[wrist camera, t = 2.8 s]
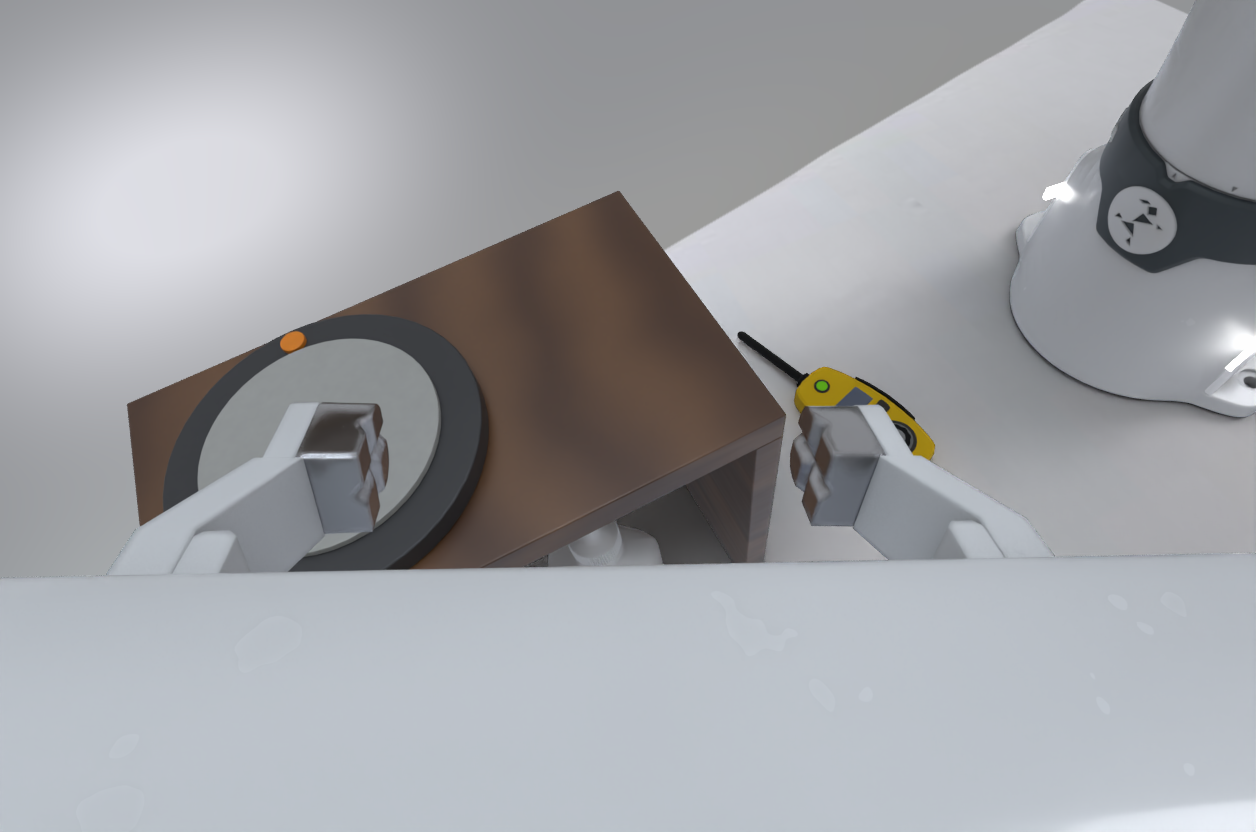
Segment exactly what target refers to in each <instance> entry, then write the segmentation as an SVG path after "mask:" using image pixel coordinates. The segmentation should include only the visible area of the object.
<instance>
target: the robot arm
mask: <svg viewBox="0 0 1256 832" xmlns="http://www.w3.org/2000/svg"><path fill="white" fill-rule="evenodd" d="M1053 197H1054V198H1053ZM1043 198H1044V199H1045V200H1047V199H1050V198H1053V200H1052V202H1051V203H1050V205H1049V206H1048V208H1047V210H1045V211H1042V212H1038V213H1035V214H1031V215H1029V216H1027V217H1026V218H1024V219H1023V221H1022V222H1021V224H1020V225H1019V227H1018V228H1017V231H1016V241H1017V246H1018V251H1019V255H1020V257H1019V262H1018V265H1017V267H1016V270H1015V272H1014V274H1013V277H1012V280H1011V285H1010V304H1011V309H1012V313H1013V316H1014V318H1015V321H1016V323H1017V325H1018V327H1019V328H1020V330H1021V332H1022V333H1023V335H1024V336H1025V338H1026V339H1027V340H1028V342H1029V343H1030V344H1031V345H1032V346H1033V347H1034V348H1035V349H1036V350H1037V351H1038V352H1039V353H1040V354H1041V355H1042V356H1043V357H1044V358H1045V359H1046V360H1048V361H1049V362H1050V363H1051V364H1053V365H1054V366H1056V367H1057V368H1058V369H1060V370H1061V371H1063V372H1065V373H1066V374H1068V375H1070V376H1072V377H1073V378H1075V379H1077V380H1079V381H1081V382H1083V383H1086V384H1088V385H1090V386H1093V387H1095V388H1098V389H1101V390H1104V391H1107V392H1110V393H1113V394H1117V395H1121V396H1126V397H1131V398H1138V399H1146V400H1163V401H1179V402H1186V403H1191V404H1194V405H1197V406H1199V407H1202V408H1205V409H1208V410H1211V411H1214V412H1218V413H1221V414H1224V415H1229V416H1234V417H1246V416H1250V415H1252V414H1253V413H1255V412H1256V0H1195V2H1194V4H1193V6H1192V8H1191V10H1190V12H1189V14H1188V16H1187V18H1186V21H1185V23H1184V25H1183V27H1182V29H1181V31H1180V33H1179V35H1178V36H1177V38H1176V40H1175V42H1174V44H1173V46H1172V48H1171V50H1170V52H1169V54H1168V56H1167V57H1166V59H1165V61H1164V63H1163V65H1162V67H1161V68H1160V70H1159V72H1158V74H1157V75H1156V77H1155V79H1153V80H1152V81H1150V82H1149V83H1148V84H1146V85H1145V86H1144V87H1143V88H1142V89H1141V90H1140V91H1139V92H1138V94H1137V95H1136V96H1135V98H1134V99H1133V101H1132V102H1131V104H1130V106H1129V107H1128V108H1126V109H1125V111H1124V112H1123V114H1122V115H1121V116H1120V118H1119V120H1118V122H1117V123H1116V125H1115V127H1114V128H1113V131H1112V133H1111V137H1110V140H1109V141H1108V143H1107V144H1105V145H1102V146H1100V147H1098V148H1096V149H1089V150H1088V151H1086V152H1085V153H1084V154H1083V155H1082V156H1081V157H1080V159H1079V160H1078V161H1077V163H1076V164H1075V166H1074V168H1073V169H1072V171H1071V172H1070V174H1069V175H1068V177H1067V178H1066V180H1065V181H1064V183H1061V184H1058V185H1055V186H1051V187H1048V188H1047V189H1046V191H1045V193H1044V195H1043ZM1246 384H1247V385H1249V386H1250V387H1251V388H1250V387H1248V386H1247V385H1246ZM798 423H799V426H800V428H801V430H802V433H801V434H800V435H799V436H798V437H797V438H795V439H794V440H793V444H792V449H791V453H790V469H791V474H792V478H793V481H794V483H795V486H796V487H798V488H799V489H801V490H802V491H803V492H804V495H803V499H802V504H803V506H804V509H805V511H806V513H807V516H808V518H809V521H810V523H811V526H854V527H853V529H854V530H856V531H857V532H858V533H859V534H860V535H861V536H862V537H863V538H864V539H866V540H867V541H868V542H869V543H870V544H871V545H872V546H873V547H874V548H876V549H877V550H878V551H879V552H880V553H881V554H882V555H883V556H884V557H886V558H887V559H888V560H868V561H818V562H768V563H717V564H668V565H617V566H565V567H514V568H463V569H412V570H360V571H309V572H288V571H289V570H290V569H291V568H292V567H293V566H294V565H295V564H296V563H297V562H298V561H300V560H301V559H302V558H303V557H304V556H305V555H306V554H307V553H308V552H309V551H310V550H311V549H312V548H313V547H314V546H315V545H316V544H317V543H318V542H319V541H320V540H322V539H323V538H324V537H325V535H324V534H334V533H359V532H373V530H374V526H375V523H376V519H377V516H378V512H379V509H380V502H379V496H378V494H379V493H380V492H382V491H383V490H384V489H385V487H386V483H387V479H388V471H389V451H388V445H387V440H386V439H385V438H384V437H382V436H381V435H380V431H381V428H382V425H383V418H382V413H381V409H380V407H379V405H378V404H374V403H335V402H322V403H320V402H294V403H292V404H290V405H289V406H288V408H287V410H286V412H285V414H284V416H283V418H282V420H281V421H280V423H279V425H278V427H277V429H276V431H275V433H274V435H273V437H272V439H271V441H270V443H269V445H268V447H267V449H266V451H265V453H264V455H263V457H262V458H252V459H251V460H249V461H247V462H246V463H244V464H243V465H241V466H239V467H238V468H236V469H234V470H233V471H231V472H229V473H228V474H226V475H224V476H223V477H221V478H219V479H218V480H216V481H215V482H213V483H211V484H210V485H208V486H206V487H205V488H203V489H201V490H200V491H198V492H196V493H195V494H193V495H191V496H190V497H188V498H187V499H185V500H183V501H182V502H180V503H178V504H177V505H175V506H173V507H172V508H170V509H168V510H167V511H165V512H163V513H162V514H160V515H158V516H157V517H155V518H154V519H152V520H150V521H149V522H147V523H145V524H144V525H142V526H140V527H139V528H137V529H135V531H134V532H133V534H132V535H131V537H130V538H129V540H128V542H127V543H126V544H125V546H124V547H123V549H122V551H121V552H120V554H119V555H118V557H117V558H116V560H115V561H114V563H113V564H112V566H111V568H110V569H109V570H108V572H107V574H106V575H105V576H59V577H58V576H56V577H6V578H5V577H4V578H0V832H1256V553H1210V554H1165V555H1120V556H1070V557H1055V556H1054V554H1053V553H1052V552H1051V550H1050V549H1049V548H1048V546H1047V545H1046V543H1045V542H1044V541H1043V539H1042V538H1041V537H1040V535H1039V534H1038V533H1037V531H1036V530H1035V529H1034V527H1033V526H1032V524H1031V523H1030V522H1029V520H1028V519H1027V518H1025V517H1024V516H1022V515H1020V514H1019V513H1017V512H1015V511H1014V510H1012V509H1010V508H1008V507H1007V506H1005V505H1003V504H1002V503H1000V502H998V501H997V500H995V499H993V498H992V497H990V496H988V495H986V494H985V493H983V492H981V491H980V490H978V489H976V488H975V487H973V486H971V485H970V484H968V483H966V482H964V481H963V480H961V479H959V478H958V477H956V476H954V475H953V474H951V473H949V472H948V471H946V470H944V469H942V468H941V467H939V466H937V465H936V464H934V463H932V462H931V461H929V460H927V459H926V458H924V457H922V456H914V455H913V454H912V452H911V451H910V449H909V448H908V446H907V444H906V443H905V441H904V440H903V438H902V436H901V435H900V433H899V432H898V430H897V429H896V427H895V425H894V424H893V422H892V421H891V419H890V418H889V416H888V414H887V413H886V411H885V410H884V408H883V407H881V406H880V405H854V406H805V407H804V409H803V410H802V412H801V415H800V418H799V422H798Z"/></svg>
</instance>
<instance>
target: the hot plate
mask: <svg viewBox="0 0 1256 832" xmlns="http://www.w3.org/2000/svg"><path fill="white" fill-rule="evenodd" d="M294 402H320V403H322V402H335V403H374V404H378V405H379V407H380V409H381V413H382V418H383V425H382V428H381V431H380V435H381V436H382V437H384V438H385V439H386V440H387V445H388V451H389V471H388V479H387V483H386V487H385V489H384V490H383V491H382V492H380V493H379V494H378V496H379V502H380V509H379V512H378V516H377V519H376V523H375V526H374V530H373V532H359V533H334V534H324V535H325V537H324V538H323V539H322V540H320V541H319V542H318V543H317V544H316V545H315V546H314V547H313V548H312V549H311V550H310V551H309V552H308V553H307V554H306V555H305V556H304V557H303V558H302V559H301V560H300V561H298V562H297V563H296V564H295V565H294V566H293V567H292V568H291V569H290V570H289V571H288V572H309V571H360V570H408V569H410V568H411V567H412V566H414V565H415V564H416V563H418V562H419V561H420V560H421V559H422V558H423V557H424V556H425V555H427V554H428V553H429V552H430V551H431V550H432V549H433V548H434V547H435V546H436V545H437V544H438V543H439V542H440V541H441V539H442V538H443V537H444V536H445V535H446V534H447V533H448V532H449V531H450V529H451V528H452V526H453V525H454V524H455V522H456V521H457V519H458V518H459V517H460V515H461V514H462V512H463V511H464V509H465V507H466V506H467V504H468V502H469V500H470V498H471V496H472V495H473V493H474V491H475V488H476V486H477V483H478V481H479V478H480V476H481V473H482V469H483V466H484V462H485V458H486V454H487V446H488V438H489V424H488V413H487V408H486V402H485V399H484V396H483V393H482V391H481V388H480V385H479V383H478V381H477V380H476V378H475V376H474V374H473V372H472V370H471V369H470V367H469V365H468V363H467V362H466V360H465V359H464V357H463V356H462V355H461V354H460V352H459V351H458V350H457V349H456V348H455V347H454V346H453V345H452V344H451V343H450V342H449V341H448V340H446V339H445V338H444V337H443V336H441V335H440V334H438V333H436V332H435V331H433V330H432V329H430V328H428V327H425V326H423V325H421V324H419V323H416V322H414V321H410V320H407V319H403V318H400V317H394V316H387V315H375V314H360V315H347V316H341V317H335V318H330V319H326V320H322V321H318V322H315V323H311V324H308V325H306V326H303V327H300V328H298V329H295V330H293V331H290V332H288V333H286V334H284V335H282V336H280V337H278V338H276V339H274V340H272V341H270V342H269V343H267V344H265V345H264V346H262V347H260V348H259V349H257V350H255V351H254V352H253V353H251V354H250V355H248V356H247V357H246V358H244V359H243V360H241V361H240V362H239V363H238V364H236V365H235V366H234V367H233V368H232V369H231V370H229V371H228V372H227V373H226V374H225V375H224V376H223V377H222V378H221V379H220V380H219V381H218V382H217V383H216V384H215V385H214V386H213V387H212V388H211V389H210V390H209V391H208V392H207V394H206V395H205V396H204V397H203V399H202V400H201V401H200V402H199V404H198V405H197V406H196V408H195V409H194V411H193V412H192V414H191V415H190V417H189V418H188V420H187V421H186V423H185V425H184V427H183V429H182V431H181V432H180V434H179V436H178V438H177V440H176V442H175V445H174V448H173V450H172V453H171V456H170V458H169V462H168V466H167V470H166V474H165V478H164V488H163V512H165V511H167V510H168V509H170V508H172V507H173V506H175V505H177V504H178V503H180V502H182V501H183V500H185V499H187V498H188V497H190V496H191V495H193V494H195V493H196V492H198V491H200V490H201V489H203V488H205V487H206V486H208V485H210V484H211V483H213V482H215V481H216V480H218V479H219V478H221V477H223V476H224V475H226V474H228V473H229V472H231V471H233V470H234V469H236V468H238V467H239V466H241V465H243V464H244V463H246V462H247V461H249V460H251V459H252V458H262V457H263V455H264V453H265V451H266V449H267V447H268V445H269V443H270V441H271V439H272V437H273V435H274V433H275V431H276V429H277V427H278V425H279V423H280V421H281V420H282V418H283V416H284V414H285V412H286V410H287V408H288V406H289V405H290V404H292V403H294Z"/></svg>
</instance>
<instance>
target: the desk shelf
mask: <svg viewBox="0 0 1256 832" xmlns="http://www.w3.org/2000/svg"><path fill="white" fill-rule="evenodd" d="M360 314H375V315H387V316H394V317H400V318H403V319H407V320H410V321H414V322H416V323H419V324H421V325H423V326H425V327H428V328H430V329H432V330H433V331H435V332H436V333H438V334H440V335H441V336H443V337H444V338H445V339H446V340H448V341H449V342H450V343H451V344H452V345H453V346H454V347H455V348H456V349H457V350H458V351H459V352H460V354H461V355H462V356H463V357H464V359H465V360H466V362H467V363H468V365H469V367H470V369H471V370H472V372H473V374H474V376H475V378H476V380H477V381H478V383H479V385H480V388H481V391H482V393H483V396H484V399H485V402H486V408H487V413H488V424H489V438H488V446H487V454H486V458H485V462H484V466H483V469H482V473H481V476H480V478H479V481H478V483H477V486H476V488H475V491H474V493H473V495H472V496H471V498H470V500H469V502H468V504H467V506H466V507H465V509H464V511H463V512H462V514H461V515H460V517H459V518H458V519H457V521H456V522H455V524H454V525H453V526H452V528H451V529H450V531H449V532H448V533H447V534H446V535H445V536H444V537H443V538H442V539H441V541H440V542H439V543H438V544H437V545H436V546H435V547H434V548H433V549H432V550H431V551H430V552H429V553H428V554H427V555H425V556H424V557H423V558H422V559H421V560H420V561H419V562H418V563H416V564H415V565H414V566H412V567H411V568H410V569H408V570H412V569H463V568H514V567H524V566H526V565H528V564H530V563H532V562H534V561H536V560H538V559H540V558H542V557H544V556H546V555H548V554H550V553H552V552H554V551H556V550H558V549H560V548H562V547H564V546H566V545H568V544H570V543H572V542H574V541H576V540H578V539H580V538H582V537H584V536H586V535H588V534H590V533H592V532H593V531H595V530H597V529H599V528H601V527H603V526H605V525H607V524H609V523H611V522H613V521H615V520H617V519H619V518H621V517H623V516H625V515H627V514H629V513H631V512H633V511H635V510H637V509H639V508H641V507H643V506H645V505H647V504H649V503H651V502H653V501H655V500H657V499H659V498H661V497H663V496H665V495H667V494H668V493H670V492H672V491H674V490H676V489H678V488H680V487H682V486H684V485H686V487H687V489H688V490H689V492H690V493H691V495H692V497H693V498H694V500H695V502H696V503H697V505H698V507H699V508H700V510H701V512H702V513H703V515H704V517H705V518H706V520H707V522H708V523H709V525H710V526H711V528H712V530H713V531H714V533H715V535H716V536H717V538H718V540H719V541H720V543H721V545H722V546H723V548H724V550H725V551H726V553H727V555H728V556H729V558H730V559H731V561H732V563H764V558H765V551H766V545H767V538H768V531H769V525H770V518H771V512H772V505H773V498H774V492H775V485H776V479H777V472H778V465H779V459H780V452H781V446H782V439H783V432H784V425H785V418H786V414H785V412H784V411H783V410H782V408H781V407H780V406H779V404H778V403H777V402H776V400H775V399H774V398H773V396H772V395H771V394H770V392H769V391H768V390H767V388H766V387H765V386H764V384H763V383H762V382H761V380H760V379H759V377H758V376H757V375H756V373H755V372H754V371H753V369H752V368H751V367H750V365H749V364H748V363H747V361H746V360H745V359H744V357H743V356H742V355H741V353H740V352H739V351H738V349H737V348H736V347H735V345H734V344H733V343H732V341H731V340H730V339H729V337H728V336H727V335H726V333H725V332H724V331H723V329H722V328H721V327H720V325H719V324H718V323H717V321H716V320H715V318H714V317H713V316H712V314H711V313H710V312H709V310H708V309H707V308H706V306H705V305H704V304H703V302H702V301H701V300H700V298H699V297H698V296H697V294H696V293H695V292H694V290H693V289H692V288H691V286H690V285H689V284H688V282H687V281H686V280H685V278H684V277H683V276H682V274H681V273H680V272H679V270H678V269H677V268H676V266H675V265H674V264H673V262H672V261H671V260H670V258H669V257H668V255H667V254H666V253H665V251H664V250H663V249H662V247H661V246H660V245H659V243H658V242H657V241H656V239H655V238H654V237H653V235H652V234H651V233H650V231H649V230H648V229H647V227H646V226H645V225H644V224H643V222H642V221H641V219H640V218H639V217H638V215H637V214H636V213H635V211H634V210H633V209H632V207H631V206H630V205H629V203H628V202H627V201H626V199H625V198H624V196H623V195H622V194H621V193H620V191H617V192H615V193H612V194H610V195H608V196H605V197H603V198H601V199H598V200H596V201H594V202H591V203H589V204H587V205H585V206H582V207H580V208H578V209H575V210H573V211H571V212H568V213H566V214H564V215H561V216H559V217H557V218H554V219H552V220H550V221H548V222H545V223H543V224H541V225H538V226H536V227H534V228H531V229H529V230H527V231H525V232H522V233H520V234H518V235H515V236H513V237H511V238H509V239H506V240H504V241H501V242H499V243H497V244H495V245H492V246H490V247H488V248H485V249H483V250H481V251H478V252H476V253H474V254H471V255H469V256H467V257H465V258H462V259H460V260H458V261H455V262H453V263H451V264H448V265H446V266H444V267H442V268H439V269H437V270H435V271H432V272H430V273H428V274H426V275H423V276H421V277H418V278H416V279H414V280H412V281H409V282H407V283H405V284H402V285H400V286H398V287H395V288H393V289H391V290H389V291H386V292H384V293H382V294H379V295H377V296H375V297H372V298H370V299H368V300H365V301H363V302H361V303H359V304H356V305H354V306H352V307H350V308H347V309H345V310H342V311H340V312H338V313H336V314H333V315H331V316H329V317H326V318H324V319H322V320H326V319H330V318H335V317H341V316H347V315H360ZM322 320H319V321H322ZM317 322H318V321H317ZM266 344H267V343H266ZM264 345H265V344H264ZM264 345H262V346H264ZM262 346H260V347H262ZM260 347H257V348H255V349H252V350H250V351H248V352H246V353H243V354H241V355H239V356H236V357H234V358H232V359H230V360H227V361H225V362H222V363H220V364H218V365H216V366H213V367H211V368H209V369H207V370H204V371H202V372H200V373H197V374H195V375H193V376H190V377H188V378H186V379H183V380H181V381H179V382H176V383H174V384H172V385H169V386H167V387H165V388H163V389H160V390H158V391H156V392H153V393H151V394H149V395H146V396H144V397H142V398H140V399H137V400H135V401H133V402H131V403H128V404H127V407H128V418H129V427H130V437H131V447H132V456H133V464H134V465H133V466H134V475H135V485H136V495H137V504H138V513H139V523H140V526H142V525H144V524H145V523H147V522H149V521H150V520H152V519H154V518H155V517H157V516H158V515H160V514H162V513H163V488H164V478H165V474H166V470H167V466H168V462H169V458H170V456H171V453H172V450H173V448H174V445H175V442H176V440H177V438H178V436H179V434H180V432H181V431H182V429H183V427H184V425H185V423H186V421H187V420H188V418H189V417H190V415H191V414H192V412H193V411H194V409H195V408H196V406H197V405H198V404H199V402H200V401H201V400H202V399H203V397H204V396H205V395H206V394H207V392H208V391H209V390H210V389H211V388H212V387H213V386H214V385H215V384H216V383H217V382H218V381H219V380H220V379H221V378H222V377H223V376H224V375H225V374H226V373H227V372H228V371H229V370H231V369H232V368H233V367H234V366H235V365H236V364H238V363H239V362H240V361H241V360H243V359H244V358H246V357H247V356H248V355H250V354H251V353H253V352H254V351H255V350H257V349H259V348H260Z"/></svg>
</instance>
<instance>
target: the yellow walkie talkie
mask: <svg viewBox="0 0 1256 832" xmlns="http://www.w3.org/2000/svg"><path fill="white" fill-rule="evenodd" d="M738 338H739V339H740V340H741V341H743V342H744V343H746V344H747V345H748V346H750V347H751V348H752V349H754V350H755V351H756V352H758V353H759V354H760V355H762V356H763V357H765V358H766V359H767V360H769V361H770V362H771V363H773V364H774V365H775V366H777V367H778V368H779V369H781V370H782V371H784V372H785V373H786V374H788V375H789V376H790V377H792V378H793V379H794V380H796V381H797V387H798V388H797V390H796V393H795V399H794V402H795V405H796V408H797V409H798V410H799V412H800V413H801V412H802V410H803V409H804V407H805V406H854V405H880V406H881V407H883V408H884V410H885V411H886V413H887V414H888V416H889V418H890V419H891V421H892V422H893V424H894V425H895V427H896V429H897V430H898V432H899V433H900V435H901V436H902V438H903V440H904V441H905V443H906V444H907V446H908V448H909V449H910V451H911V452H912V454H913V455H914V456H922V457H924V458H926V459H927V460H929V461H930V460H931V458H932V456H933V454H934V450H935V444H934V442H933V441H932V439H931V438H930V437H929V436H928V435H927V433H926V432H925V431H924V430H923V429H922V428H921V427H920V426H919V425H918V424H917V423H916V422H915V418H914V417H913V415H912V414H911V413H910V412H908V411H907V410H906V409H905V408H904V407H903V406H902V405H901V404H899V403H898V402H897V401H896V400H894V399H893V398H892V397H890V396H889V395H888V394H886V393H885V392H883V391H882V390H880V389H878V388H877V387H875V386H873V385H872V384H870V383H868V382H866V381H864V380H862V379H860V378H858V377H856V378H855V379H854V378H852V377H850V376H848V375H846V374H844V373H842V372H839V371H837V370H834V369H831V368H828V367H822V368H819V369H817V370H815V371H814V372H812V373H811V374H810V375H809V374H808V373H806V374H804V375H802V374H801V373H800V372H798V371H797V370H795V369H794V368H793V367H791V366H790V365H789V364H787V363H786V362H784V361H783V360H782V359H780V358H779V357H778V356H776V355H775V354H773V353H772V352H771V351H769V350H768V349H767V348H765V347H764V346H763V345H761V344H760V343H758V342H757V341H756V340H754V339H753V338H752V337H750V336H749V335H747V334H746V333H745V332H742V331H741V332H739V333H738Z"/></svg>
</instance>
